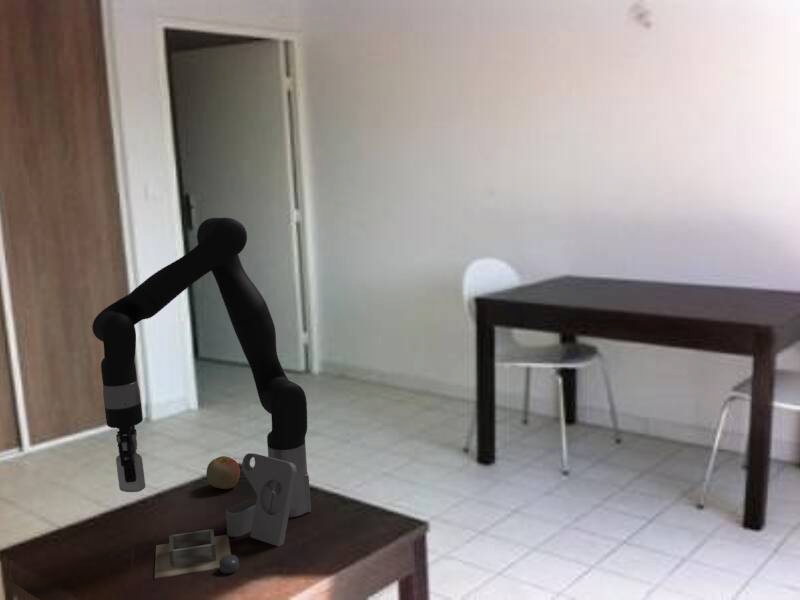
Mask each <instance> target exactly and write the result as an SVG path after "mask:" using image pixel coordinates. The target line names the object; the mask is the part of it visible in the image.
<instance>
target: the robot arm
mask: <svg viewBox="0 0 800 600" xmlns="http://www.w3.org/2000/svg"><path fill="white" fill-rule="evenodd" d="M196 233H197V234H196V240H197V245H196V246H195V247H194V248H192V249H191V250H190V251H188V252H187V253H185V254H184V255H183V256H181V257H180V258H178V259H176V260H175V261H173V262H171V263H170V264H167V265H166V266H164V267H163V268H161V269H159V270H157V271H156V272H154V273H153V274H152V275H150V276H149V277H148V278H147V279H145V280H144V281H143V282H142V283H141V284H139V285H138V286H137V287H135V288H134V289H133V290H132V291H131V292H130V293H129V294H127V295H125V296H124V297H121V298H120V299H118V300H116V301H114V302H113V303H112V304H110V305H108V306H107V307H104V309H102V310H101V311H100V312H99V313H98V314H97V315H96V317H95V318H94V320H93V322H92V326H91V327H92V333H93V335H94V336H95V338H97V340H99V341H101V342H102V343H103V353H104V354H103V355H104V358H102V359H101V363H100V372H101V379H102V396H103V397H102V399H103V406H104V413H105V414H104V415H105V421H106V425H107V427H109V428H111V429H118V431H116V436H115V437H116V443H117V448H118V454H119V455H120V459H121V465H122V466H123V467H124V474H125V481H126V482H127V483H129V482H135V481H136V473H135V461H134V454H135V453H137V449H138V442H137V440H138V439H137V437H138V435H137V433H138V432H137V429H136V426H137V425H139V424H141V423H142V422H143V419H144V417H143V408H142V402H141V400H142V399H141V391H140V387H139V382H138V378H137V367H136V362H135V358H136V347H137V333H136V332H137V331H136V327H135V325H137V324H138V323H140V322H141V321H143V320H148V319H151V318H152V317H154V316H155V315H157V314H158V313H160V311H162V310H163V309H164V308H165V307H166V306H167V305H169V304H170V303H171V302H172V301H173V300H174V299H176V298H177V297H178V296H180V295H181V294H182V293H183V292H184V291H186V290H187V289H188V288H189V287H191V285H193V284H195V282H197V281H198V280H200V279H201V278H202V277H204V276H205V275H207V274H208V273H210V272H211V273H212V275H213V276H214V277H213V278H214V280H215V282H216V284H217V287H218V289H219V292H220V295H221V298H222V301H223V304H224V306H225V309H226V311H227V314H228V317H229V321H230V322H231V326H232V327H233V330H234V332H235V335H236V338H237V340H238V342H239V345H240V346H241V349H242V352H243V354H244V356H245V358H246V361H247V363H248V365H249V367H250V369H251V370H250V371H251V373H252V376H253V379H254V383H255V384H254V385H255V387H256V391H257V395H258V398H259V401H260V404H261V406H262V408H263V409H264V410H265V411H266V412H267V413H268V414H270V415H271V431H270V432H269V433H268V434H267V436H266V442H267V444H266V445H267V457H271V458H275V459H279V460H283V461H287V462H291V463H293V464H294V465H295V466H296V469H297V474H296V479H295V485H294V490H293V496H292V501H291V507H290V512H289V518H294V517H295V518H296V517H300V516H303V515H305V514H308V513H312V506H311V489H310V476H309V474H308V464H307V452H306V451H307V450H306V447H307V446H306V434H307V431H308V404H307V403H308V401H307V396H306V393H305V390H304V389H303V387H302V386H300V385H299V384H297V383H295V382H294V381H291V380H289V379H288V377H287V375H286V373H285V371H284V368H283V367H282V365H281V362H280V360H279V356H278V352H277V335H276V327H275V324H274V321H273V317H272V315H271V312H270V310H269V307H268V304H267V302H266V300H265V298H264V297H263V295H262V294H261V292H260V291H259V289H258V288H257V287H256V285H255V284H254V282H253V281H252V279H251V278H250V277H249V275H248V274H247V272H246V270H245V269H244V267H243V264H242V262H241V259H240V256H239V254H241V252H243V250H244V249H245V247H246V245H247V241H248V233H247V230H246V228H245V226H244V225H243V224H242V222H240V221H239V220H237V219H234V218H231V217H210V218H207V219H205V220H204V221H202V222H201V223H200V225H199V226H198V229H197V232H196ZM132 448H133V450H132ZM137 454H138V453H137ZM119 455H118V456H119ZM125 457H130V460H125ZM281 490H282V487H281V484H280V483H279V482H277V483H276V484H275V486H274V492H275V494H276V495H279V494H280V493H281Z"/></svg>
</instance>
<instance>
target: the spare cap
mask: <svg viewBox="0 0 800 600" xmlns="http://www.w3.org/2000/svg"><path fill="white" fill-rule="evenodd" d="M239 570H240V559H239V558H238V556H236V554H235V555H234V554H231V555H226V556H224V557H222V558H221V560H220V569H219V571H220V572H221V573H222V574H225V575H228V574H234V573H236V572H238V571H239Z"/></svg>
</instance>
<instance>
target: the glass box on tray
mask: <svg viewBox="0 0 800 600" xmlns="http://www.w3.org/2000/svg"><path fill="white" fill-rule="evenodd" d="M168 540H169V542H168V543H163V544H157V545H156V546H155V560H154V561H155V563H154V580H159V579H165V578H171V577H177V576H184V575H190V574H195V573H202V572H209V571H214V570H215V571H216V570H220V560H221V558H222V557H224V556H226V555H232V552H231V551H232V550H231V545H230V539H229V535H228V534H223V535H217V536H215V530H214V528H211V529H204V530H197V531H190V532H181V533H175V534H170V535H169V537H168Z"/></svg>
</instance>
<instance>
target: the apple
mask: <svg viewBox="0 0 800 600" xmlns="http://www.w3.org/2000/svg"><path fill="white" fill-rule="evenodd" d="M240 469H241V468H240V465H239V463H238V461H236V459H234V458H231V456H227V455H226V456H223V455H222V456H219V457H216V458H214V459H212V460H211V461H210V462H209V464H208V465H207V467H206V479H207V481H208V484H209V485H210V486H211V487H214V488H217V489H223V490H224V489H225V490H226V489H232V488H234V487H235V486H236V485H237V484H238V482H239V480H240V475H241V470H240Z"/></svg>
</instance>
